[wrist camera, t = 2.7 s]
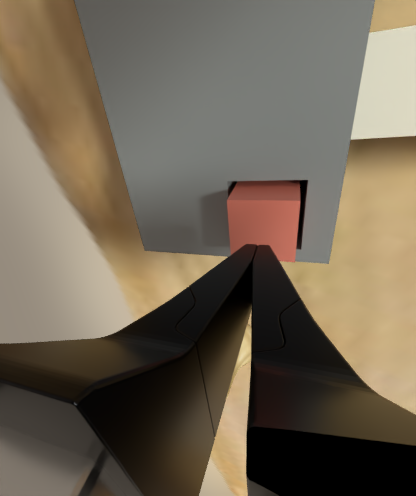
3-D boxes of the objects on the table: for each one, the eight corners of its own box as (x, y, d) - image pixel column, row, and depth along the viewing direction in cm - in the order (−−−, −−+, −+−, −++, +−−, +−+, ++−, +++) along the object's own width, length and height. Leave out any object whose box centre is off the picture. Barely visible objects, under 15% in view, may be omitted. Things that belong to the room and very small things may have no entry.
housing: (373, -156, 8) (433, -335, 5) (321, 221, 16) (328, 263, 12) (119, -66, 11) (36, -135, 8) (174, 217, 19) (144, 250, 15)
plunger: (299, 166, 13) (300, 200, 9) (295, 216, 15) (295, 262, 11) (245, 168, 14) (227, 200, 10) (246, 215, 15) (231, 257, 12)
